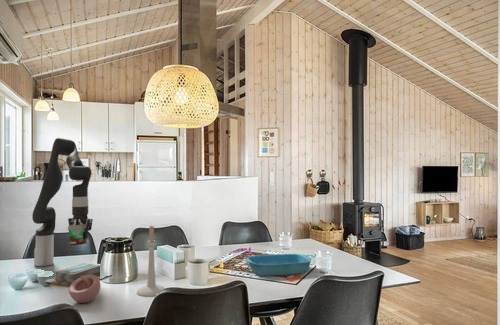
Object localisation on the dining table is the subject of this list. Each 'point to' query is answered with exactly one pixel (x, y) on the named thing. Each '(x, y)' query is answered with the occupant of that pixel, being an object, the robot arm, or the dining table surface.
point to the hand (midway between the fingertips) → (80, 238)
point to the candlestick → (150, 271)
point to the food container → (76, 234)
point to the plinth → (75, 273)
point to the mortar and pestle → (85, 288)
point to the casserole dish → (279, 264)
